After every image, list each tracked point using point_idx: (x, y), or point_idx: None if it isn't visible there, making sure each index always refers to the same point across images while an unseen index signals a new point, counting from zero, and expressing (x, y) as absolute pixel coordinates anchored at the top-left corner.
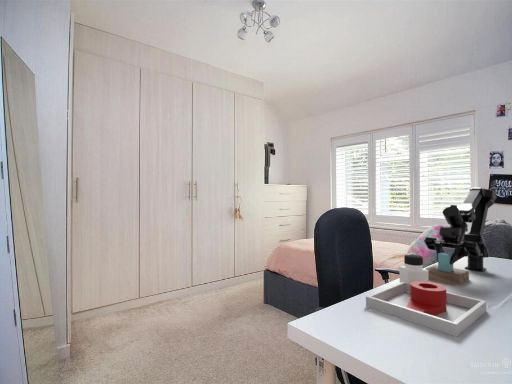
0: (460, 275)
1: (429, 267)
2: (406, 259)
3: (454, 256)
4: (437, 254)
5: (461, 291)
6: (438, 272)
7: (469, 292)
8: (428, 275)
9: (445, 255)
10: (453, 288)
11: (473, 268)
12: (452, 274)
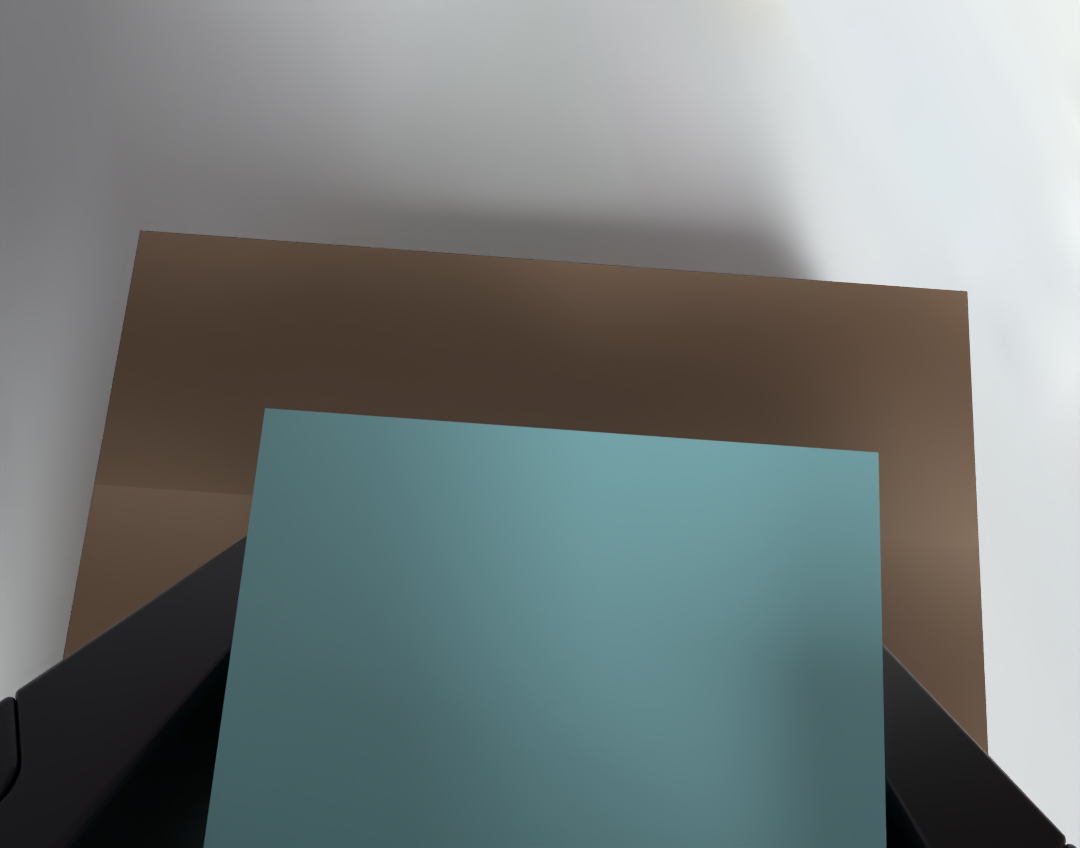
0: (114, 413)
1: (958, 658)
2: None
3: (73, 673)
4: (967, 759)
5: (135, 101)
6: (587, 265)
7: (19, 138)
8: None
9: (473, 432)
10: (272, 179)
11: None
12: (274, 304)
